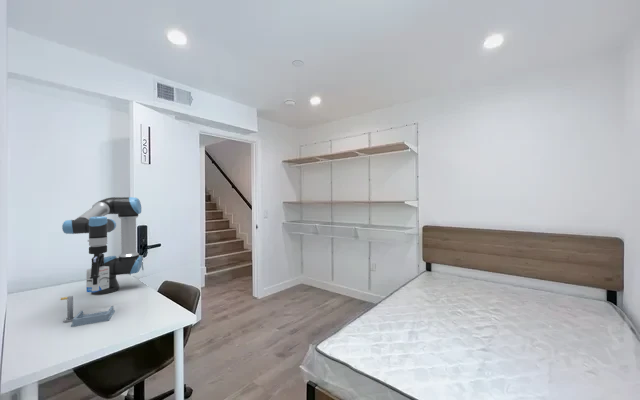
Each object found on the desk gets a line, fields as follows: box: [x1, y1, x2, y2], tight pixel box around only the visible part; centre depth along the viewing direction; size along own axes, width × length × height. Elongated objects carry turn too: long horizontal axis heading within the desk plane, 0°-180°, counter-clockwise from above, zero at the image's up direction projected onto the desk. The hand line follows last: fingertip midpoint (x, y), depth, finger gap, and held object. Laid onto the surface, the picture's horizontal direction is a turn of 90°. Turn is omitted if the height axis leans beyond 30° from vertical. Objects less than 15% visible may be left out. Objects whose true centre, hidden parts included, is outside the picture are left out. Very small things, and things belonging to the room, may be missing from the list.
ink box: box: [85, 266, 109, 293], centre depth 141 cm, size 9×5×12 cm, turn 169°
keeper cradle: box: [60, 295, 116, 328], centre depth 138 cm, size 13×22×12 cm, turn 117°
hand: (98, 287), depth 141 cm, fingers closed on ink box, 9 cm apart
